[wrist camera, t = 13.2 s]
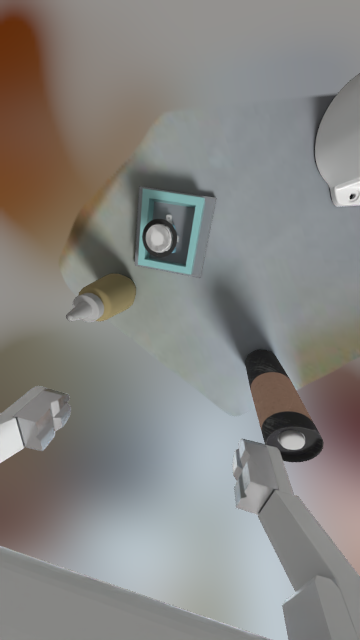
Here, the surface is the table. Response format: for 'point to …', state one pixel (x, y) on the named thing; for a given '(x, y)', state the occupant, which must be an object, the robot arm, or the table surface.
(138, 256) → the socket plate
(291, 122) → the table surface
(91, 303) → the squeeze bottle
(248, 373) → the travel mug
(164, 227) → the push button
